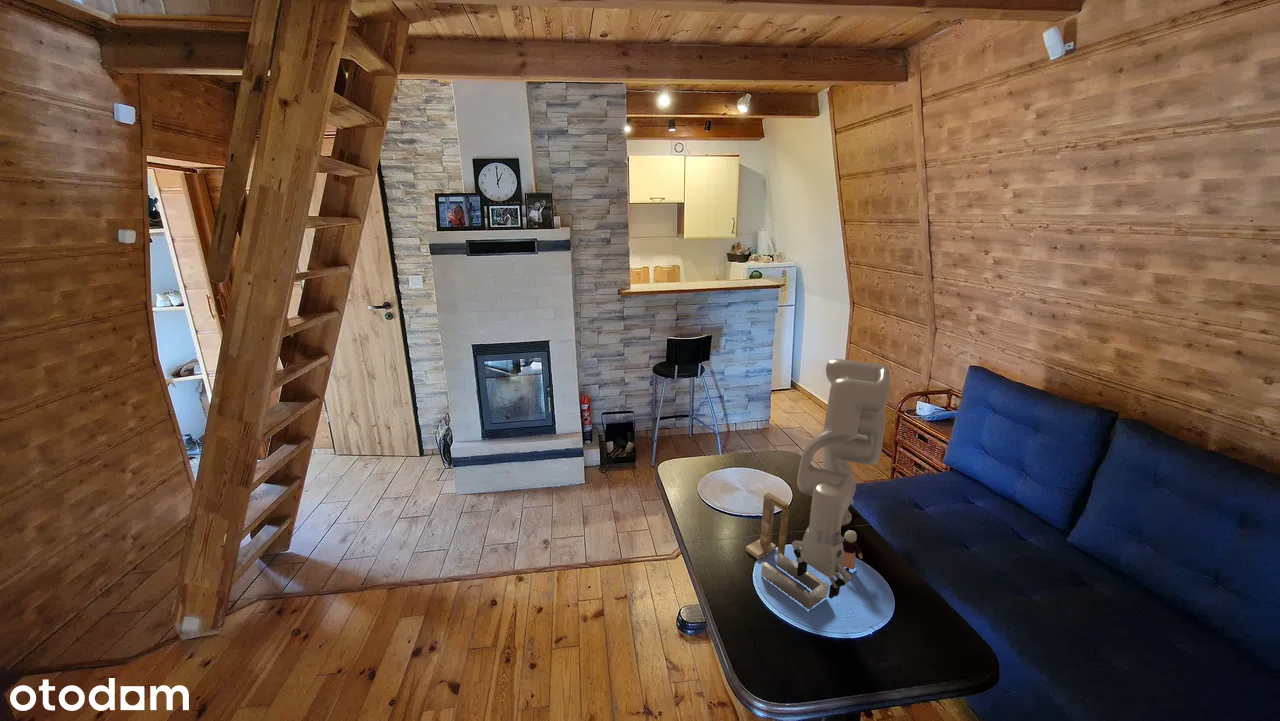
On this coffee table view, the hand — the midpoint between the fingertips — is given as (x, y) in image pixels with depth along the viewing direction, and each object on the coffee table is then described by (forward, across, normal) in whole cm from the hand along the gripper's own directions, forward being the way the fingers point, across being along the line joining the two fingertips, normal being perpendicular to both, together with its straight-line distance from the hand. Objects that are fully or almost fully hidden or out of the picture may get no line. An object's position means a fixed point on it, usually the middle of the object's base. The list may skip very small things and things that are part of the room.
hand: (817, 584), depth 131 cm
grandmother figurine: (+6, +3, -18) cm, 20 cm away
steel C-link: (+6, +7, +1) cm, 9 cm away
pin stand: (+6, +20, -4) cm, 22 cm away
